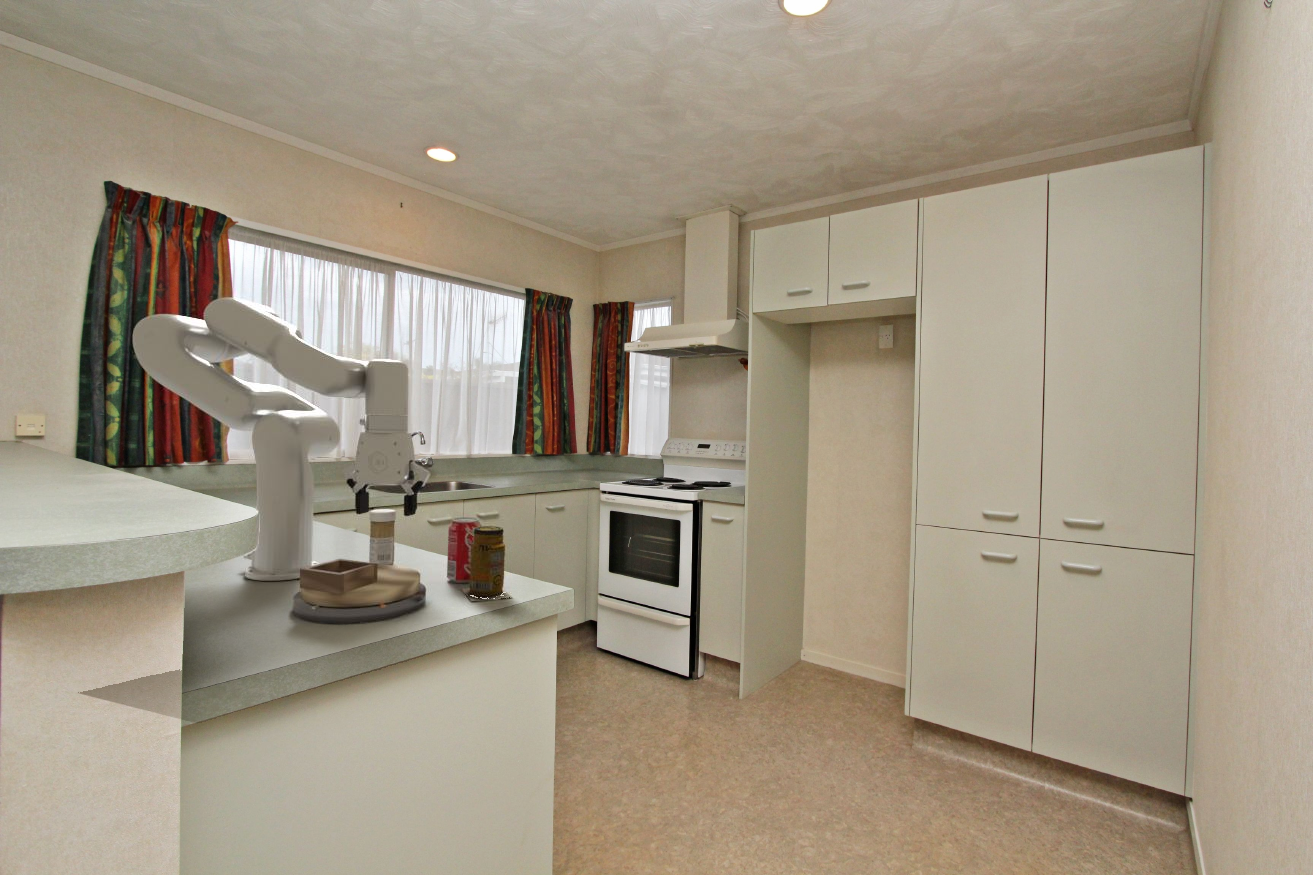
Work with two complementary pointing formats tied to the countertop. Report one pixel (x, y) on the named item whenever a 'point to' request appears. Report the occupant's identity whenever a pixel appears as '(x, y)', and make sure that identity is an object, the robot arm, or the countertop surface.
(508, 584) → the countertop surface
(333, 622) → the dial plate
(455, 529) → the beverage can
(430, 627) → the countertop surface
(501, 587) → the condiment
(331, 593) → the dial
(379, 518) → the sprinkles bottle
